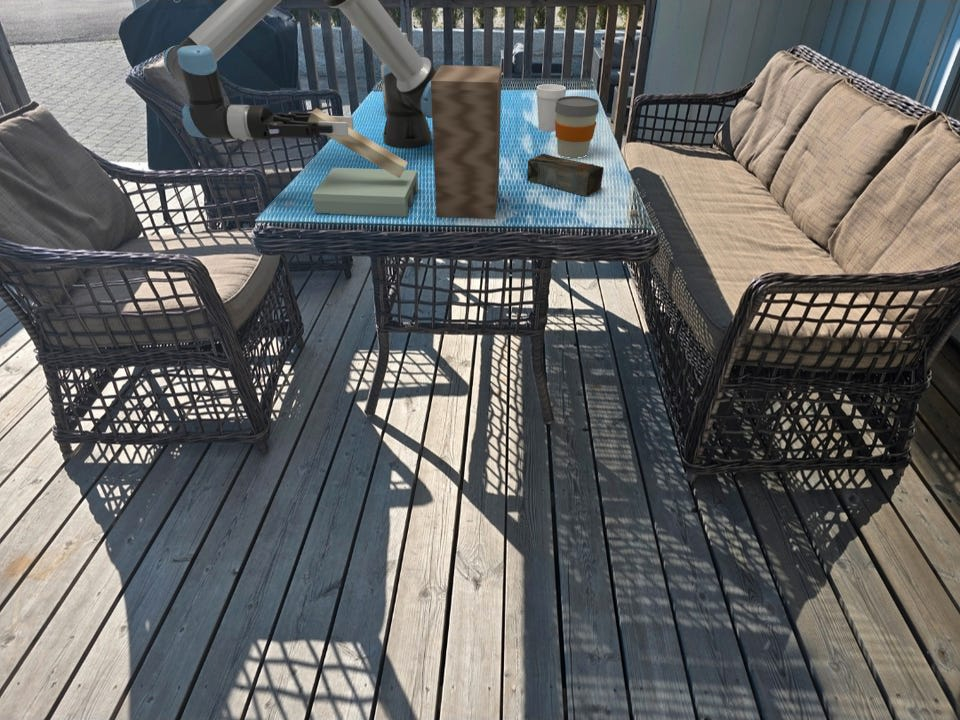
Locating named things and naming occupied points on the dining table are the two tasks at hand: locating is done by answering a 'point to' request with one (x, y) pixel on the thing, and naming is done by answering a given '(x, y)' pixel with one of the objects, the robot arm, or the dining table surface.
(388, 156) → the pine slat
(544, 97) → the foam cup
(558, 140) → the reusable coffee cup
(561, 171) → the beverage carton
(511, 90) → the dining table surface
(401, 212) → the grey-green flat box
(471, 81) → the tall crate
